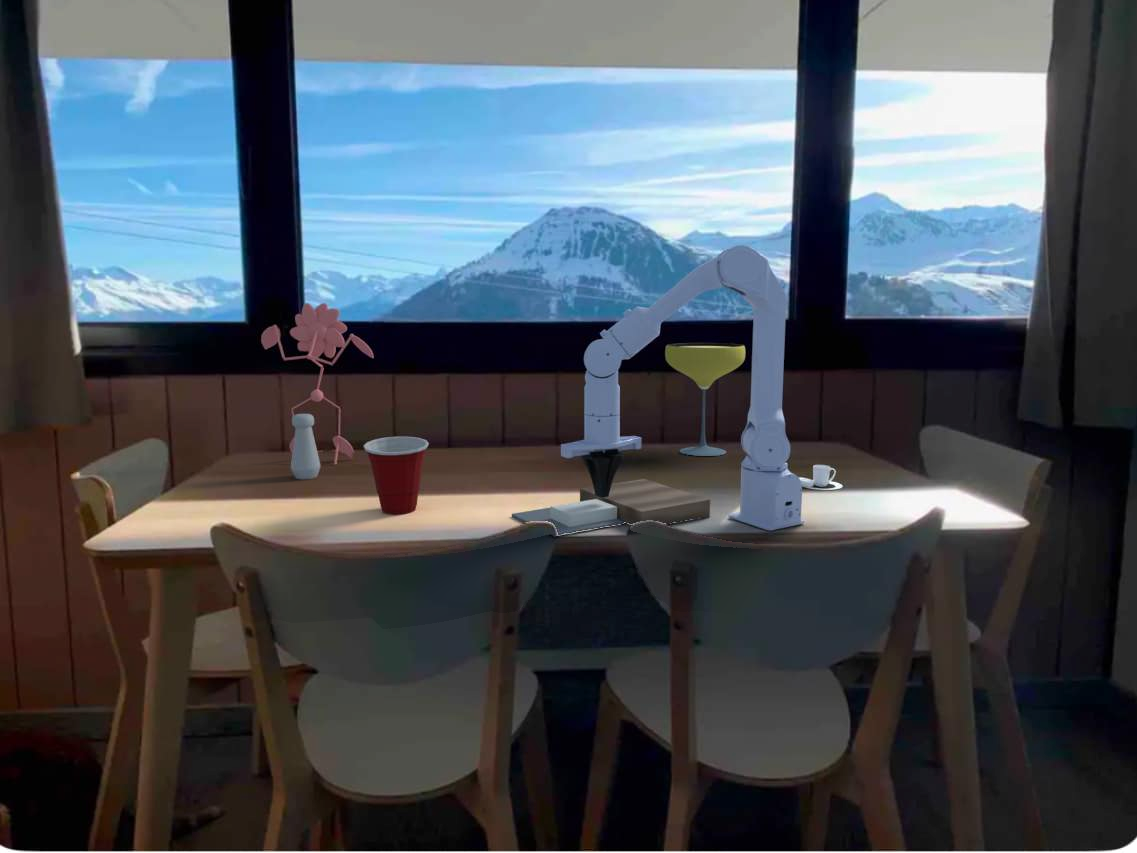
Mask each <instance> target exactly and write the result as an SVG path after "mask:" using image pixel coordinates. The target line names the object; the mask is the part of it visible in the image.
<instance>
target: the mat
mask: <svg viewBox="0 0 1137 853" xmlns="http://www.w3.org/2000/svg"><path fill="white" fill-rule="evenodd" d="M511 517H512V518H513V519H516V520H518V521H520V522H521V523H524V524H526V523H525V522H530V521H548V522H551V523H553V524H554V525H555V527H556V529H557V532H558V535H561V534H564V533H572V532H576V531H582V530H588V529H594V528H600V527H605V526H612V525H618V524H623V523H624V521H621V520H619V519H612V520H607V521H601V522H596V523H590V524H584V525H579V526H573V527H569V526H567V525H564V524H562V523H560V522H558V521H556V520H553V519H551V506H550V507H545V508H539V509H538V508H537V509H532V510H526V511H522V512H514V513H511ZM624 524H625V523H624Z"/></svg>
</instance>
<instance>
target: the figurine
mask: <svg viewBox="0 0 1137 853" xmlns="http://www.w3.org/2000/svg"><path fill="white" fill-rule="evenodd" d="M294 316H295V317H294V320H295V324H296V326H295V327H292V328H291V329H290V330H289V334H290V336H291V337H292V338H293V339H295V340H297V341H298V343H297V349H298V351H299V352H308V354H307V355H301V356H292V357H291V356H289V357H286V356H285V353H284V349H283V345H282V342H281V337H282V336H281V330H280V328H279V327H278V326H277V324H273V325H272V326H269V327H267V328H266V329H265V330H264V331H263V332H262V334H261V337H260V338H261V339H260V342H261V344H262V346H263V349H265V350H267V349H269V348H271V347H273V346H275V345H276V344H277V343H278V348H279V351H280V354H281V357H282V359H283V361H292V360H300V359H307V360H311V361H312V362H313V363H315V364H316V365H317V366H318V367H320V371H319V376H318V382H317V387H316V389H314V390H312V392H311V393H310V397H309V398H307V399H306V400H304V401H302V402H300V403H299V404H297V405H294V407H291V410H290V411H291V416H292V417H293V416H294V415H295V413H294V410H295V409H296V408H298V407H299V406H302V405H304V404H305V403H307V402H309V401H310V400H312V401H313V402H315V403H317V402H318V403H319V402H321V401H322V400H323V399H324V400H325V401H327V402H328V403H329V404H331V405H332V406H334V407H336V408H337V409H338V425H337V426H338V427H337V428H338V432H337V434H338V435H334V436H333V438H332V442H333V445H334V447H335V449H334V450H333V452H335V453H334V461H333V465H334V466H335V465H338V464H337V463H338V456H339V455H338V454H339V452H340V453H342V454H343V455H345V456H346V457H348V458H349V459H354V455H355V454H354V453H355V450H354V449H353V446H352V445H351V443H349V441H348V440H346V439H345V438H344V437H343V436H341V407H340V406H338V405H337V404H335V403H334V402H333V401H331V400H329V399H327V397H325V396H324V392H323V391H322V390H320V385H321V382H322V376H323V373H324V369H325V368H324V365H323V364H328V365H330V366H334V364H335V363H336V362H337V361H338V359H339V357H340V356H341V355H342V353H343V352H344V351H345V349H346V347H347V346H348V345H349V343H350V341H352V343H353V344H354V345H355V346H356V348H358V349H359V350H360V351H361V352H362V353H363V354H365V355H367V356H368V357H369V358H372V359H374V358H375V356H374V353H373V350H372V349H371V348H370V346H369V345H368V344H367V343H366V342H365V341H364V340H363V339H361V338H360V337H358V336H356V335H354V333H350V334H349V337H348V338H347V340H346V341H345V339H344V337H343V335H342V334H344V333H346V332H347V330H348V327H347V325H346V324H345V323H343V322H342V321H340V320H338V318H339V317H340V310H339V309H337V308H328V304H327V303H325V302H324V303H321V304H319V305H317V306H316V307H315V308H314V307H313V306H312V304H310V303H308V302H306V303H304V304H303V306H302V309H301V313H297V314H296V315H294ZM336 348H341V349H340V350H339V351H338V353H337V354H336V352H337V351H336V350H337V349H336ZM323 353H324V356H325V357H326V358H329V359H333V360H332V361H328V360H325V359H323V358H320V356H321V355H323ZM335 355H336V356H335ZM333 357H334V358H333ZM320 362H321V363H323V364H321V363H320ZM294 428H296V427H294ZM293 445H294V437H293V438H292V440H291V441H290V442H289V450H290V452H291V454H292V453H293ZM317 452H318V453H319V452H322V450H317ZM363 464H364V462H363V463H359V465H360V466H361V465H363Z"/></svg>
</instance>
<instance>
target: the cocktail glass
mask: <svg viewBox="0 0 1137 853" xmlns="http://www.w3.org/2000/svg"><path fill="white" fill-rule="evenodd" d="M664 354H665V355H664V356H665V361H666V362H667V364H668V365H669V366H671V368H673V369H674V370H676V371H677V372H680V373H681V374H684V375H685V376H687V377H689V378H690V379H691V380H693V381H694V383H696V385H697V386H698V388H699V389H701V390H702V415H701V433H700V441H699V444H698V445H697V446H690V447H685V448H681V449H679V453H680V454H681V453H682V454H681V455H684V454H686V455H685V456H688V455H693V456H692V457H696V456H716V457H721V456H720V455H722V456H725V455H727V450H724V449H722V448H718V447H712V446H708V445H707V439H706V390H708V389H710V387H711V386H712V384H713V383H714V382H715V381H716V380H718V379H719V378H720V377H723V376H724V375H727V374H729V373H731V372H733V371H734V370H736V369H738V368H739V367H740V366H741V365H742V364H743V363H744V361H745V359H746V347H745V345H744V344H740V343H739V344H737V343H726V342H724V343H723V342H722V343H720V342H719V343H718V342H686V343H685V342H683V343H681V342H680V343H679V342H678V343H670V344H667V345H666V346H665V351H664ZM724 454H725V455H724Z"/></svg>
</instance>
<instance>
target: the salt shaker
mask: <svg viewBox="0 0 1137 853" xmlns="http://www.w3.org/2000/svg"><path fill="white" fill-rule="evenodd" d="M291 424H292V427H294V428H295V427H296V428H295V430H294V437H293V438H294V445H293V453H292V452H291V460H290V470H291V472H292V474H293V475H294V478H295V479H296V480H302V481H303V480H312V479H315V478H317V477H318V475H319V472H320V469H321V462H320V457H319V452H317V451H318V449H317V443H316V441H315V440H316V439H315V437H314V431H313V427H312V426H314V425H315V418H314V415H312V414H311V413H298V414H294V416H292V417H291Z"/></svg>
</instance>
